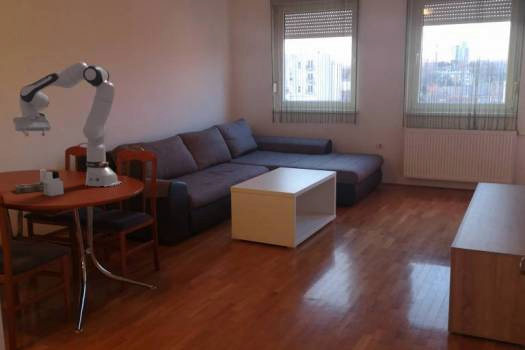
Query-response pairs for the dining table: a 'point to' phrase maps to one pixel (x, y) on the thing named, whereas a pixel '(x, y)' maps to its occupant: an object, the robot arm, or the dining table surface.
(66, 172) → the dining table surface
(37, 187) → the mixing board
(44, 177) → the fader
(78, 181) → the dining table surface
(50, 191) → the container
